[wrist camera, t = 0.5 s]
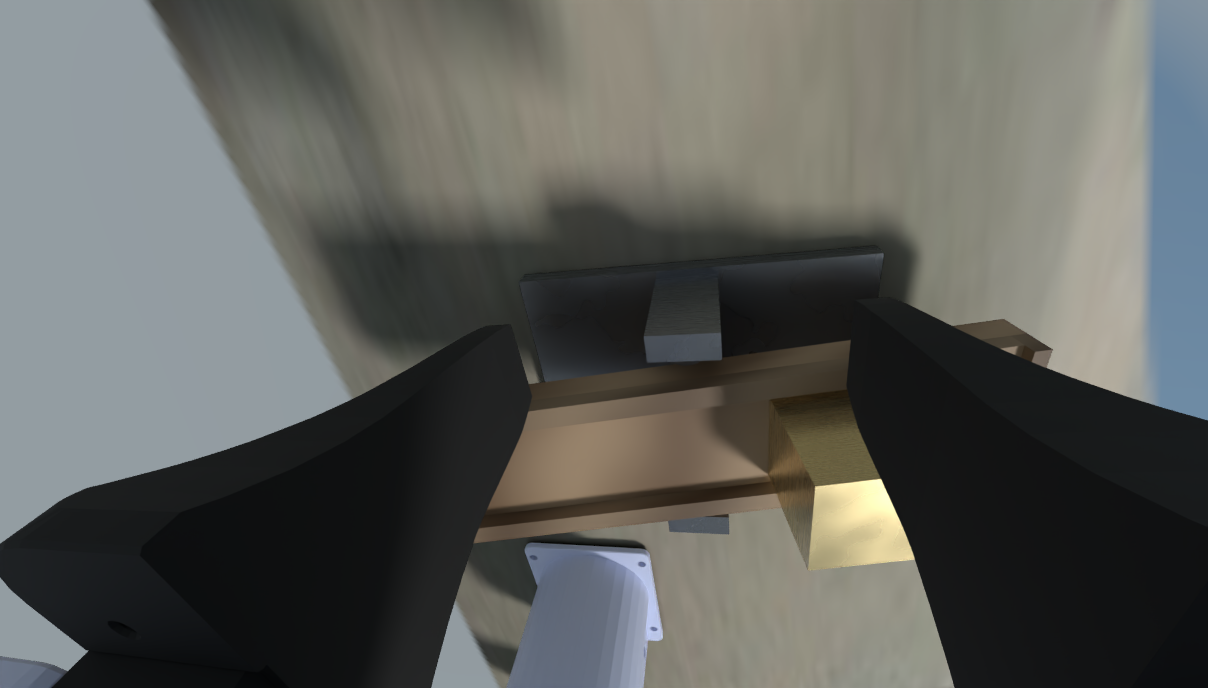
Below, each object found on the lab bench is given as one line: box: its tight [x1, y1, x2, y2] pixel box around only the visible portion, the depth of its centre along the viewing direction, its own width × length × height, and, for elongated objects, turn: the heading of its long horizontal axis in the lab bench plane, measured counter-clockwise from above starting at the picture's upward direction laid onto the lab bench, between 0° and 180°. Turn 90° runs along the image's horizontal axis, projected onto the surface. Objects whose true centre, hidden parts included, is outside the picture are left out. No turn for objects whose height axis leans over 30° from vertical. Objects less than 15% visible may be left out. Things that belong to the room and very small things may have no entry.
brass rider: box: [768, 389, 915, 571], centre depth 15 cm, size 4×5×4 cm
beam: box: [474, 319, 1053, 543], centre depth 18 cm, size 21×7×3 cm, turn 99°
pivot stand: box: [519, 246, 884, 534], centre depth 20 cm, size 10×14×5 cm
